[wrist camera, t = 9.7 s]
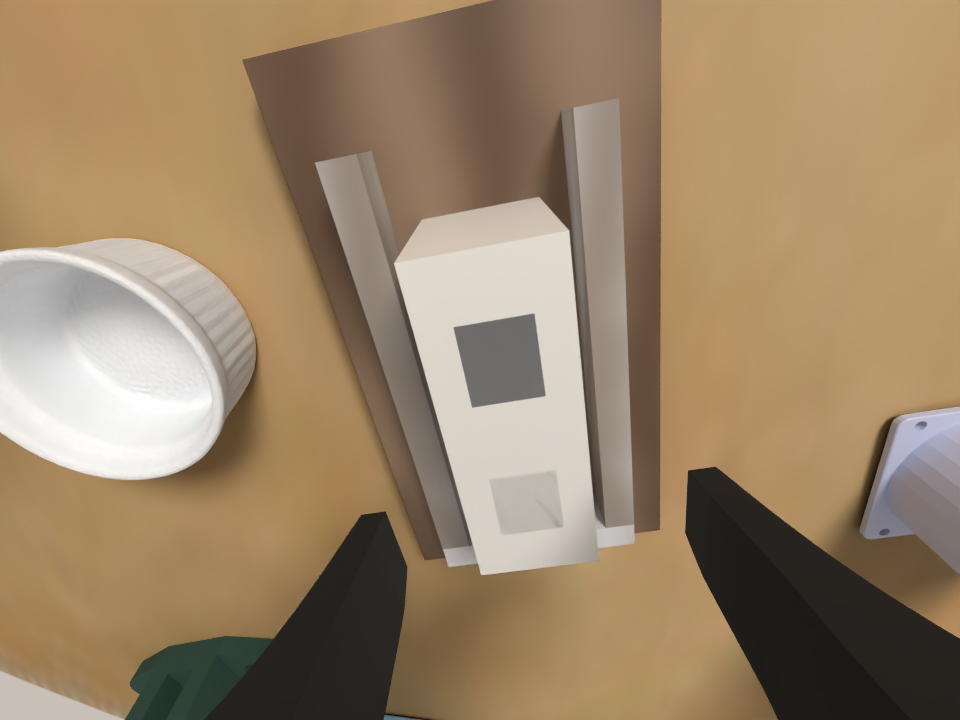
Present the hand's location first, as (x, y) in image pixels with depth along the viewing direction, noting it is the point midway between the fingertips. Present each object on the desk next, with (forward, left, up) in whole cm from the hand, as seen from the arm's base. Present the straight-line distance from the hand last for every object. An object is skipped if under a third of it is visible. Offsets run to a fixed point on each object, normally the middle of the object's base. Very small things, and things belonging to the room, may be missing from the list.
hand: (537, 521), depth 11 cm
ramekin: (+14, -4, -10) cm, 18 cm away
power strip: (0, -1, -8) cm, 8 cm away
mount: (+23, +19, -10) cm, 32 cm away
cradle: (0, -1, -9) cm, 9 cm away
